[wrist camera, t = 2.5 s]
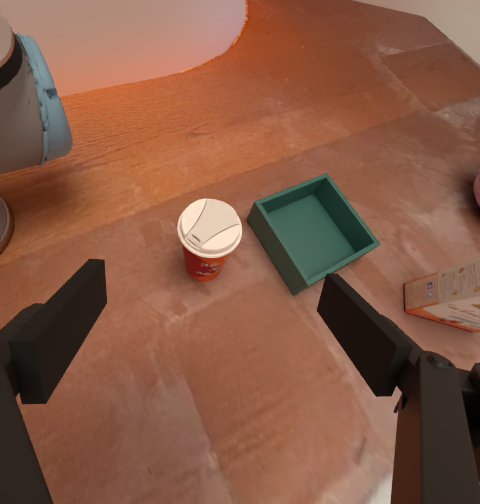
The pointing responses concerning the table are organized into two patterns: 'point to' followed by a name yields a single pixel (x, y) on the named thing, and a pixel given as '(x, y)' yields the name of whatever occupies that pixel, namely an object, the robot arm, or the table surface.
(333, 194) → the bin
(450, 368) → the robot arm
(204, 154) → the table surface
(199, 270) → the paper cup
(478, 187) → the bowl of food
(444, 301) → the cracker box
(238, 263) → the table surface
